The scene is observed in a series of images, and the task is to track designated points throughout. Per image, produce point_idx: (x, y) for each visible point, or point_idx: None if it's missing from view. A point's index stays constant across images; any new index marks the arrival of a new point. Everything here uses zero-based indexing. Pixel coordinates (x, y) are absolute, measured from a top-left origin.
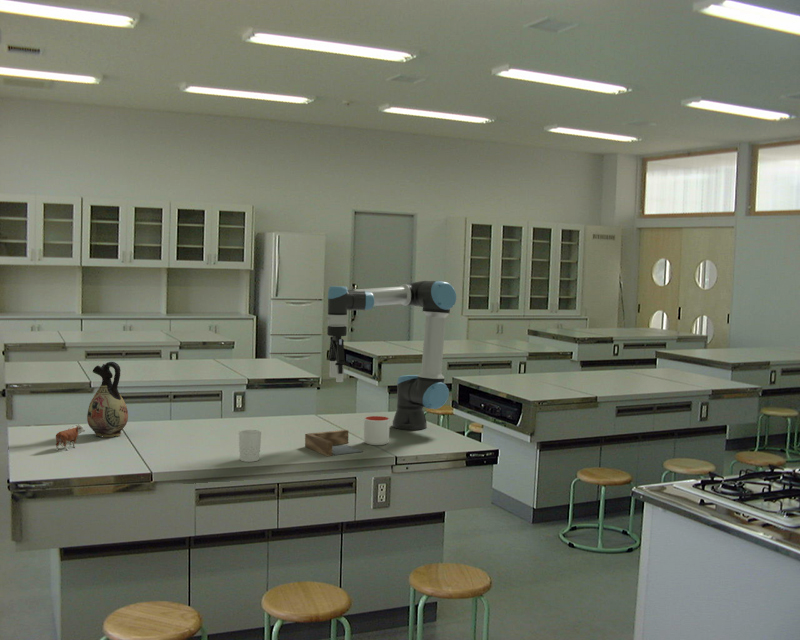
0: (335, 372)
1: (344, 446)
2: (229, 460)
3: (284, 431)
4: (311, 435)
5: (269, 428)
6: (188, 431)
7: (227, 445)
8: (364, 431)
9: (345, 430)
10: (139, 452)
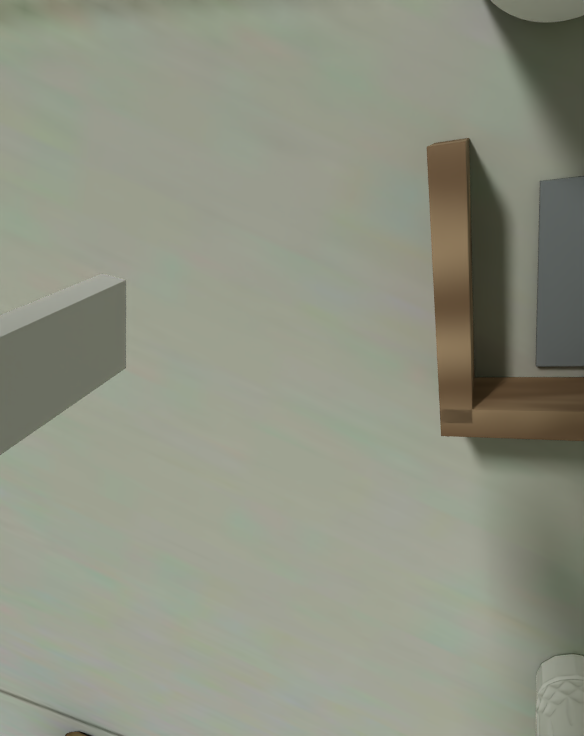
0: (77, 316)
1: (578, 215)
2: None
3: None
4: (502, 428)
5: None
6: (63, 604)
7: (299, 619)
8: (541, 10)
9: (449, 161)
10: None
